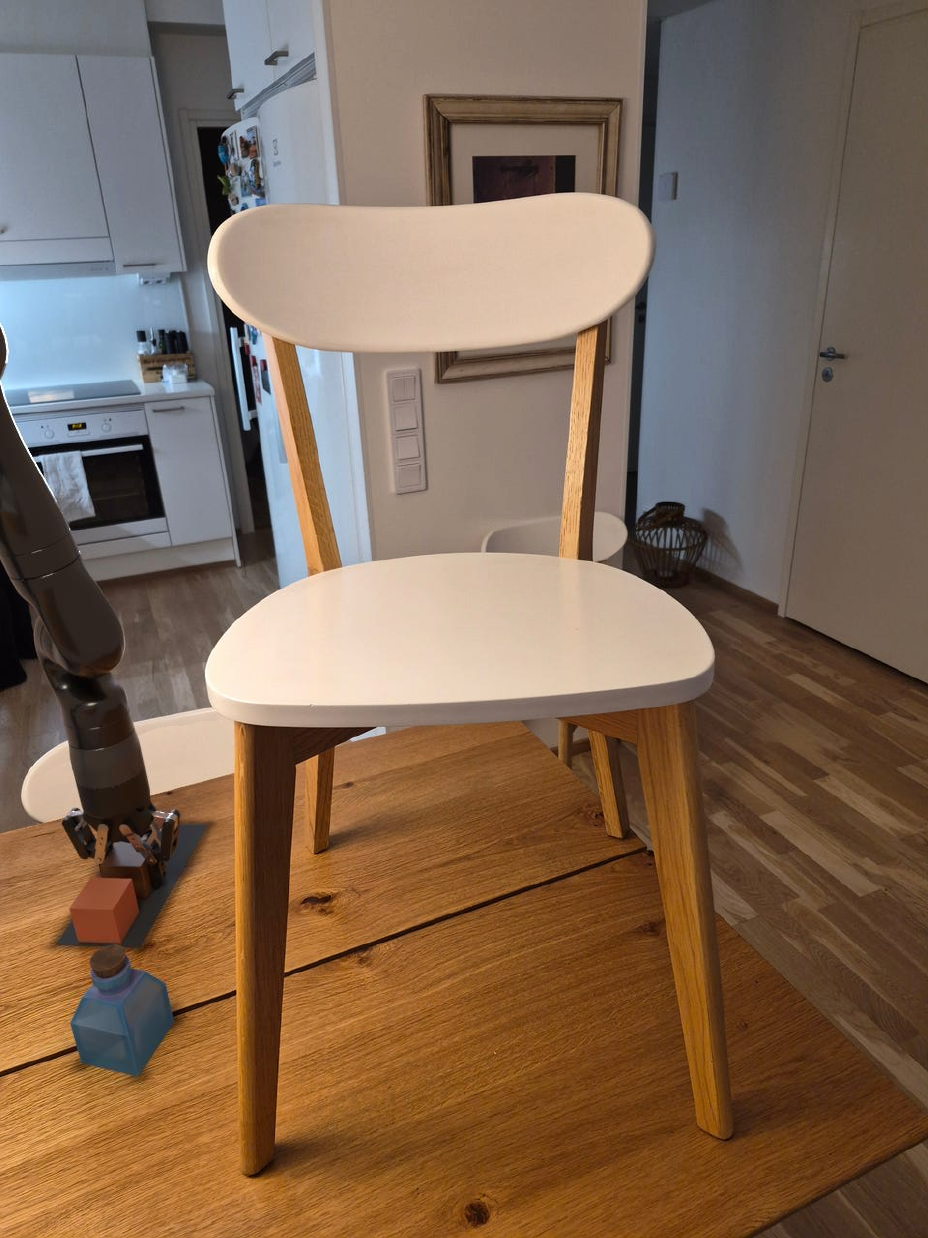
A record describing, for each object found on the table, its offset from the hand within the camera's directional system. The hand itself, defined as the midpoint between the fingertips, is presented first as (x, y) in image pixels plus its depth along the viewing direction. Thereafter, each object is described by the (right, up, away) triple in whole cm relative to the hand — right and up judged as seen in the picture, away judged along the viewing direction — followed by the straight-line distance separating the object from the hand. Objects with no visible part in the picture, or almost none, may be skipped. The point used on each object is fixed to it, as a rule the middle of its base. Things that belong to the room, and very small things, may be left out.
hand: (135, 882), depth 102 cm
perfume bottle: (+8, -10, -20) cm, 24 cm away
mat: (0, -1, +1) cm, 2 cm away
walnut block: (0, 0, 0) cm, 0 cm away
